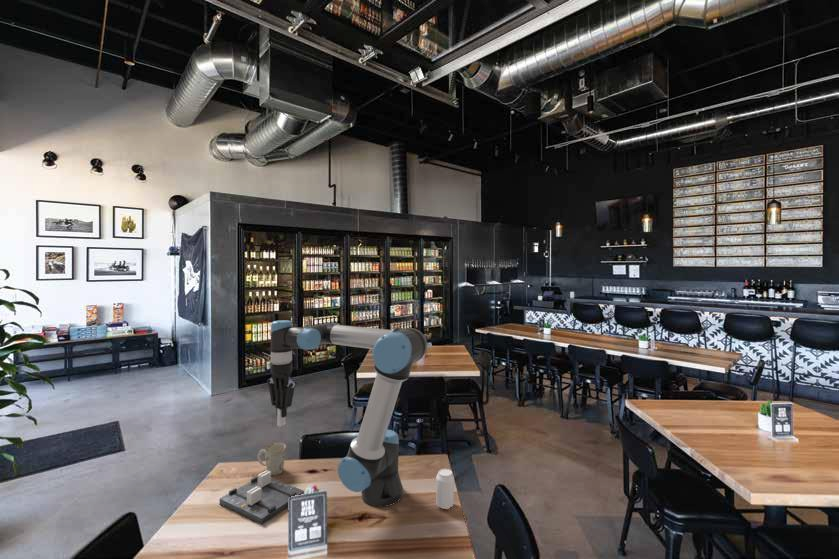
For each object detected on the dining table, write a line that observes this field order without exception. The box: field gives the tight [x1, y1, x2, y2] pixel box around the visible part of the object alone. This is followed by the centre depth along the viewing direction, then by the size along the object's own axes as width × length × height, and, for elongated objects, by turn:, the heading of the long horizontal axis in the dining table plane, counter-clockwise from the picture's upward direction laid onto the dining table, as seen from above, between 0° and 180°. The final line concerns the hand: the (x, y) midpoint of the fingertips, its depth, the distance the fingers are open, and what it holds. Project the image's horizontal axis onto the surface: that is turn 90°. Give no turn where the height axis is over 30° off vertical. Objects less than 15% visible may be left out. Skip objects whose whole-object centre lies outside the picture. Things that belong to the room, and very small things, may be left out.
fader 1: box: [247, 486, 261, 506], centre depth 129 cm, size 2×4×4 cm, turn 151°
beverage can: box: [435, 468, 455, 508], centre depth 131 cm, size 6×6×12 cm
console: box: [219, 475, 305, 526], centre depth 134 cm, size 22×18×3 cm
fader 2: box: [257, 469, 272, 487], centre depth 140 cm, size 2×4×4 cm, turn 151°
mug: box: [256, 442, 287, 476], centre depth 154 cm, size 8×13×10 cm, turn 78°
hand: (281, 425), depth 141 cm, fingers closed
